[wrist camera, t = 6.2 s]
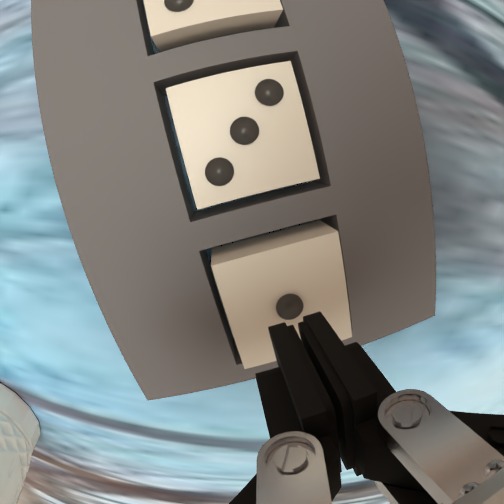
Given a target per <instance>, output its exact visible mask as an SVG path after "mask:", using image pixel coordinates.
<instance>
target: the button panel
mask: <svg viewBox="0 0 504 504" xmlns="http://www.w3.org/2000/svg"><path fill="white" fill-rule="evenodd" d="M280 2H281V5H282V8H283V11H282V13H281V15H280V17H279V19H278V21H277V23H276V25H275V27H274V28H270V29H263V30H256V31H250V32H244V33H238V34H233V35H228V36H223V37H218V38H213V39H209V40H205V41H200V42H196V43H192V44H188V45H184V46H181V47H177V48H174V49H170V50H167V51H163V52H160V53H157V54H154V52H153V48H152V43H151V39H150V34H149V29H148V24H147V20H146V15H145V10H144V5H143V0H31V23H32V45H33V58H34V69H35V78H36V86H37V94H38V100H39V107H40V113H41V119H42V124H43V130H44V135H45V140H46V144H47V149H48V153H49V158H50V162H51V166H52V170H53V174H54V178H55V182H56V186H57V189H58V193H59V196H60V200H61V203H62V207H63V210H64V213H65V216H66V220H67V223H68V226H69V229H70V232H71V235H72V238H73V241H74V244H75V246H76V249H77V252H78V255H79V257H80V260H81V263H82V265H83V268H84V271H85V273H86V276H87V278H88V281H89V283H90V286H91V288H92V290H93V293H94V295H95V298H96V300H97V302H98V304H99V307H100V309H101V311H102V313H103V316H104V318H105V320H106V322H107V324H108V327H109V329H110V331H111V333H112V335H113V337H114V339H115V341H116V343H117V345H118V347H119V349H120V351H121V353H122V355H123V357H124V359H125V361H126V363H127V364H128V366H129V368H130V370H131V372H132V374H133V376H134V377H135V379H136V381H137V383H138V385H139V386H140V388H141V390H142V392H143V393H144V395H145V397H146V398H147V400H153V399H160V398H166V397H171V396H177V395H182V394H188V393H193V392H198V391H203V390H208V389H212V388H217V387H221V386H226V385H230V384H234V383H238V382H243V381H247V380H251V379H255V378H256V375H255V373H259V372H263V371H266V370H270V369H273V368H277V367H278V364H277V361H274V362H270V363H267V364H263V365H259V366H255V367H252V368H248V369H244V366H243V363H242V360H241V357H240V354H239V351H238V348H237V345H236V342H235V339H234V338H233V336H232V333H231V330H230V327H229V324H228V321H227V318H226V315H225V311H224V308H223V305H222V302H221V299H220V296H219V293H218V289H217V286H216V283H215V280H214V277H213V273H212V270H211V267H210V264H209V260H208V257H207V254H206V250H205V249H208V248H212V247H215V246H219V245H223V244H226V243H230V242H234V241H237V240H241V239H245V238H249V237H252V236H256V235H260V234H264V233H267V232H271V231H275V230H279V229H282V228H286V227H290V226H294V225H297V224H301V223H305V222H309V221H313V220H317V219H321V221H322V222H324V223H326V224H327V225H329V226H330V227H332V228H334V229H335V230H337V231H338V234H339V240H340V246H341V252H342V259H343V266H344V273H345V280H346V288H347V295H348V303H349V312H350V321H351V331H352V337H351V338H348V339H345V340H342V342H343V344H344V345H348V344H351V343H354V342H357V343H358V344H359V345H360V346H361V345H364V344H367V343H369V342H372V341H375V340H377V339H380V338H382V337H385V336H387V335H390V334H392V333H395V332H397V331H400V330H402V329H405V328H407V327H410V326H412V325H414V324H417V323H419V322H421V321H424V320H426V319H428V318H430V317H433V316H435V301H436V254H435V232H434V217H433V205H432V195H431V186H430V178H429V170H428V163H427V157H426V151H425V145H424V139H423V134H422V128H421V123H420V118H419V114H418V109H417V105H416V101H415V96H414V92H413V88H412V84H411V81H410V77H409V73H408V70H407V66H406V63H405V59H404V56H403V53H402V50H401V47H400V44H399V41H398V38H397V35H396V32H395V29H394V26H393V23H392V21H391V18H390V15H389V13H388V10H387V8H386V5H385V3H384V0H280ZM286 61H291V64H292V68H293V71H294V75H295V78H296V82H297V85H298V89H299V93H300V97H301V100H302V104H303V108H304V112H305V116H306V120H307V124H308V128H309V132H310V137H311V141H312V145H313V150H314V154H315V158H316V163H317V168H318V172H319V177H320V179H316V180H313V182H309V183H304V184H300V185H296V186H292V187H288V188H284V189H280V190H276V191H271V192H267V193H264V194H260V195H256V196H252V197H248V198H244V199H240V200H236V201H233V202H229V203H225V204H222V205H218V206H214V207H211V208H207V209H203V210H200V211H196V212H194V209H193V206H192V202H191V199H190V195H189V192H188V188H187V184H186V181H185V177H184V173H183V170H182V166H181V162H180V159H179V155H178V151H177V147H176V143H175V140H174V136H173V132H172V128H171V124H170V120H169V116H168V112H167V108H166V104H165V100H164V96H163V94H166V93H167V92H166V88H168V87H172V86H175V85H178V84H182V83H186V82H189V81H193V80H197V79H201V78H204V77H209V76H213V75H217V74H221V73H226V72H230V71H235V70H240V69H245V68H250V67H255V66H261V65H267V64H273V63H279V62H286Z"/></svg>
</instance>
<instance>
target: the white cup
mask: <svg viewBox="0 0 504 504" xmlns="http://www.w3.org/2000/svg"><path fill="white" fill-rule="evenodd" d="M40 433H41V432H40V427H39V421H38V420H37V418H36V417H35V415H34V413H33V412H32V410H31V409H30V407H29V406H28V405H27V404H26V403H25V402H24V401H23V400H22V399H21V398H20V397H19V396H18V395H17V394H16V393H15V392H13V391H12V390H10V389H9V388H7V387H6V386H4V385H3V384H2V383H0V504H17V503H18V500H19V497H20V494H21V491H22V488H23V485H24V482H25V479H26V475H27V471H28V469H29V466H30V463H31V456H32V453H33V451H34V448H35V446H36V443H37V441H38V438H39V436H40Z"/></svg>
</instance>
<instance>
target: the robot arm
mask: <svg viewBox="0 0 504 504" xmlns="http://www.w3.org/2000/svg"><path fill="white" fill-rule="evenodd" d="M298 328H299V333H300V337H299V335H298V333H297V331H296V329H295V327H294V325H289V326H287V325H286V323H285V322H283V323H280V324H276V325H273V326H269V327H268V330H269V334H270V338H271V341H272V345H273V349H274V353H275V356H276V360H277V364H278V367H277V368H273V369H270V370H266V371H263V372H259V373H255V375H256V380H257V384H258V388H259V393H260V397H261V401H262V405H263V410H264V414H265V418H266V422H267V427H268V431H269V435H270V439H269V440H268V441H267V442H266V443H265V444H264V445H263V446H262V447H261V449H260V451H259V452H258V457H257V474H256V475H255V476H254V477H253V478H252V480H251V481H250V482H249V483H248V484H247V485H246V486H245V487H244V488H243V489H242V490H241V492H240V493H239V494H238V495H237V496H236V497H235V498H234V499H233V500H232V501H231V502H230V503H229V504H332V500H333V499H334V497H335V496H336V494H337V493H338V491H339V490H340V488H341V476H340V472H342V470H341V459H342V461H343V464H344V466H345V468H346V469H347V470H348V469H351V468H353V469H354V472H355V474H356V476H359V475H361V474H362V475H363V477H364V478H366V479H370V480H374V481H375V483H376V485H377V487H378V488H379V490H380V491H381V492H382V493H383V495H384V496H385V497H386V499H387V500H388V501H389V502H390V504H504V415H495V414H479V413H466V412H455V411H449V410H447V409H446V408H445V407H444V406H443V405H441V404H440V403H439V402H438V401H437V400H435V399H434V398H433V397H432V396H431V395H429V394H427V393H426V392H424V391H420V390H416V389H406V390H401V391H398V392H396V391H395V390H394V389H393V387H392V386H391V385H390V383H389V382H388V381H387V379H386V378H385V377H384V375H383V374H382V373H381V372H380V370H379V369H378V368H377V366H376V365H375V364H374V362H373V361H372V360H371V359H370V357H369V356H368V355H367V353H366V352H365V351H364V350H363V348H362V347H361V346H360V345H359V344H358V343H357V342H354V343H351V344H348V345H344V344H343V342H342V341H341V339H340V338H339V337H338V335H337V334H336V332H335V331H334V330H333V328H332V327H331V325H330V324H329V323H328V321H327V320H326V318H325V317H324V316H323V314H322V313H321V312H320V311H319V312H316V313H313V314H310V315H306V316H303V321H302V322H299V323H298ZM300 338H301V339H300ZM340 457H341V459H340Z"/></svg>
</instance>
